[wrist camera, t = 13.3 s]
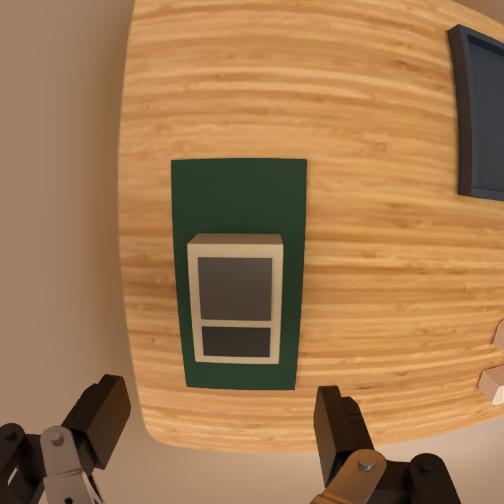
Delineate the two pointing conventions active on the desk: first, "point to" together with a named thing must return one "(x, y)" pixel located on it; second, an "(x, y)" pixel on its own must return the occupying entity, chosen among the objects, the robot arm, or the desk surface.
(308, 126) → the desk surface
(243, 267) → the beige rectangular block
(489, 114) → the tray
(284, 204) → the mat
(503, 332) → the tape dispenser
